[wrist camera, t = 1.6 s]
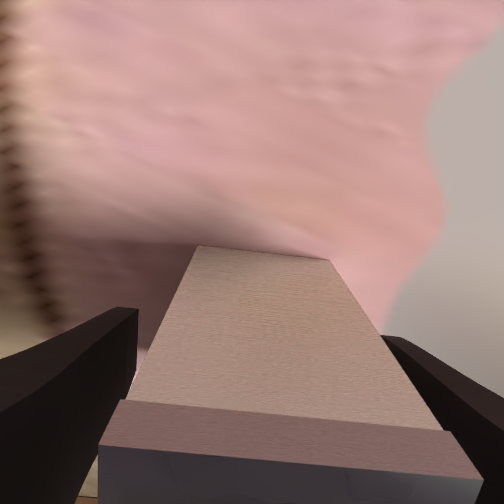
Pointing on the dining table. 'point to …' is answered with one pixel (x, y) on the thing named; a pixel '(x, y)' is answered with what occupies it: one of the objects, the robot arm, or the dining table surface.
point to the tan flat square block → (86, 500)
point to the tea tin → (275, 399)
